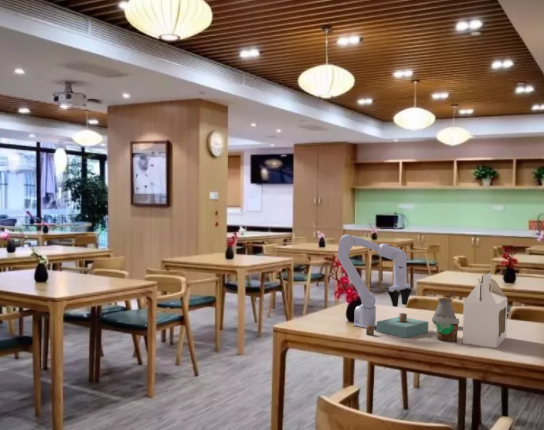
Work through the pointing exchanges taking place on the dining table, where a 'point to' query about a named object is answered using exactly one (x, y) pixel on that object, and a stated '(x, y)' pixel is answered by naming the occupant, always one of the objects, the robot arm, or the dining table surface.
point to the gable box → (485, 314)
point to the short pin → (370, 330)
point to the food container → (446, 328)
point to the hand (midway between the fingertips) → (399, 305)
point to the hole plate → (402, 327)
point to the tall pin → (403, 318)
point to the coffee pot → (444, 308)
